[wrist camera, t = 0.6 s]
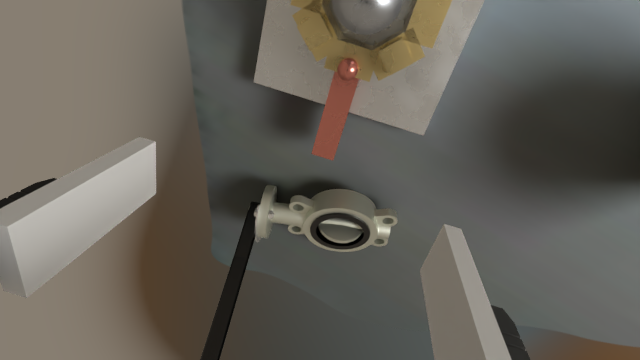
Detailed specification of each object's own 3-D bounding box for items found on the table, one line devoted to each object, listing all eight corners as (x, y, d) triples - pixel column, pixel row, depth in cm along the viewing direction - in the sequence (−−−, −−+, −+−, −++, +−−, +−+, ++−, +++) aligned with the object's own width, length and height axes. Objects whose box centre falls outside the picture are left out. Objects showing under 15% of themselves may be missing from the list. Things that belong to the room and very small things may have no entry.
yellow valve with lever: (324, -105, 26) (311, -131, 21) (467, -61, 25) (487, -78, 21) (275, 128, 35) (258, 147, 30) (379, 161, 35) (379, 185, 30)
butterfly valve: (400, 186, 39) (254, 164, 39) (416, 381, 25) (189, 347, 25) (382, 228, 45) (256, 210, 45) (387, 402, 31) (206, 376, 31)
